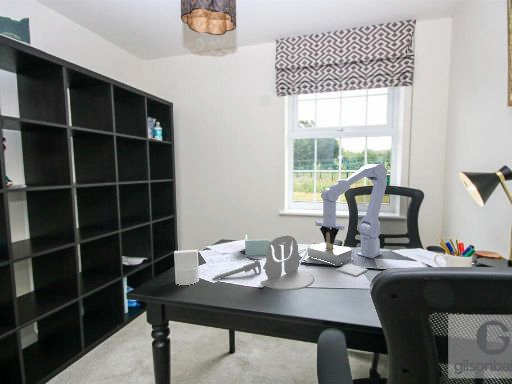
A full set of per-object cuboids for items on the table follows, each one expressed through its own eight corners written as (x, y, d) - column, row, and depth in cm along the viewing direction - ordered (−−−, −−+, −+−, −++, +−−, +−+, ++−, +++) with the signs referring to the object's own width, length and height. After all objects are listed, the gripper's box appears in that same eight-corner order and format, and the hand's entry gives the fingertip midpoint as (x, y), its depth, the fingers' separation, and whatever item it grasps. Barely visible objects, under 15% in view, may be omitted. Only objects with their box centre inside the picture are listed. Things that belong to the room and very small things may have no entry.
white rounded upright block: (174, 286, 104) (172, 255, 103) (177, 277, 113) (175, 248, 112) (198, 284, 105) (197, 254, 104) (199, 275, 114) (198, 247, 113)
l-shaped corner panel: (269, 254, 139) (269, 240, 138) (245, 255, 139) (245, 240, 138) (268, 247, 151) (267, 234, 150) (246, 248, 151) (245, 234, 150)
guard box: (322, 252, 141) (322, 242, 140) (351, 259, 129) (351, 249, 128) (307, 257, 133) (307, 247, 132) (337, 266, 121) (337, 255, 120)
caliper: (260, 272, 116) (260, 258, 116) (261, 273, 115) (260, 259, 115) (211, 279, 110) (211, 264, 110) (212, 281, 109) (211, 265, 109)
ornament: (302, 270, 118) (302, 231, 116) (326, 280, 107) (326, 238, 105) (259, 283, 106) (258, 240, 104) (280, 296, 95) (280, 248, 93)
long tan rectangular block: (329, 250, 132) (329, 231, 131) (333, 251, 130) (333, 232, 130) (326, 251, 131) (326, 232, 130) (330, 252, 129) (330, 233, 128)
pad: (347, 265, 122) (347, 263, 122) (367, 270, 115) (367, 269, 115) (336, 270, 116) (336, 269, 116) (356, 276, 109) (356, 275, 109)
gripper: (311, 213, 132) (311, 241, 133) (338, 217, 121) (338, 247, 122) (320, 211, 136) (320, 238, 138) (347, 215, 125) (346, 244, 127)
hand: (329, 242), depth 130 cm, fingers closed on long tan rectangular block, 2 cm apart
